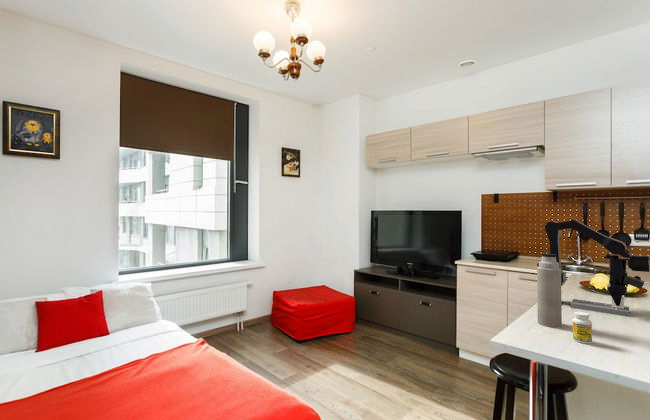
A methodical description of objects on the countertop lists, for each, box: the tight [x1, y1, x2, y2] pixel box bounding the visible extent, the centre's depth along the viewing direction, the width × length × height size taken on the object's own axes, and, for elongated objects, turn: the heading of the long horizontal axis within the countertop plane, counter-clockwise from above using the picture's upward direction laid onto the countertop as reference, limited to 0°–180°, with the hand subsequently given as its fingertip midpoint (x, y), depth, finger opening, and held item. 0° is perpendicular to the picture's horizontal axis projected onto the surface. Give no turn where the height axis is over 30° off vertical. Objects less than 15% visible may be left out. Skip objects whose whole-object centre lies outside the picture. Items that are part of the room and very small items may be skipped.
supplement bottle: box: [571, 311, 593, 345], centre depth 116 cm, size 5×5×10 cm
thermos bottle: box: [536, 253, 563, 329], centre depth 133 cm, size 8×8×28 cm
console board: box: [569, 298, 630, 317], centre depth 152 cm, size 20×10×2 cm, turn 46°
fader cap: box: [611, 294, 625, 309], centre depth 148 cm, size 4×4×5 cm
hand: (618, 304), depth 148 cm, fingers closed on fader cap, 4 cm apart
